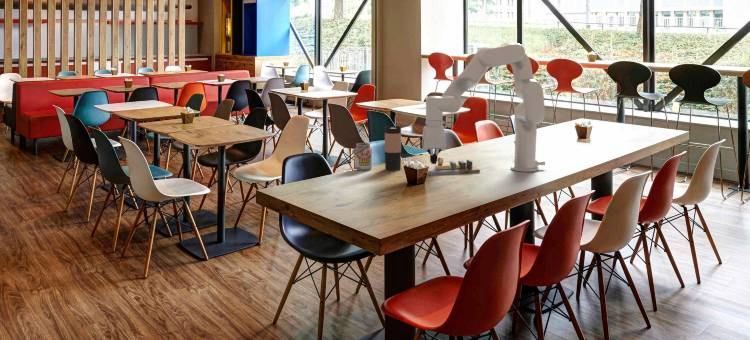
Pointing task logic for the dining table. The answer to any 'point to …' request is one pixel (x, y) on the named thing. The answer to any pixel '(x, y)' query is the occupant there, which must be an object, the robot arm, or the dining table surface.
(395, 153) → the travel mug
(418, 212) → the dining table surface
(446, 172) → the door plate
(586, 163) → the dining table surface
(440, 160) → the bolt
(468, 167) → the jamb keeper
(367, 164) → the glass jar
